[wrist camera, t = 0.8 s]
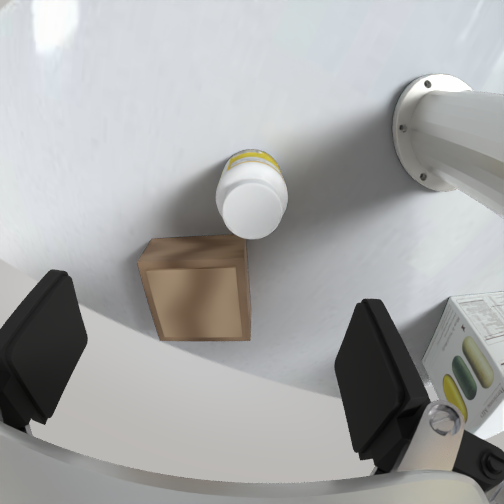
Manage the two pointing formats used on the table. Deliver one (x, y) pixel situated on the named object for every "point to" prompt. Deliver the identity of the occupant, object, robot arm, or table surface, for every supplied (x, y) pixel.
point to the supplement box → (471, 360)
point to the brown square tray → (198, 287)
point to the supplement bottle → (251, 194)
